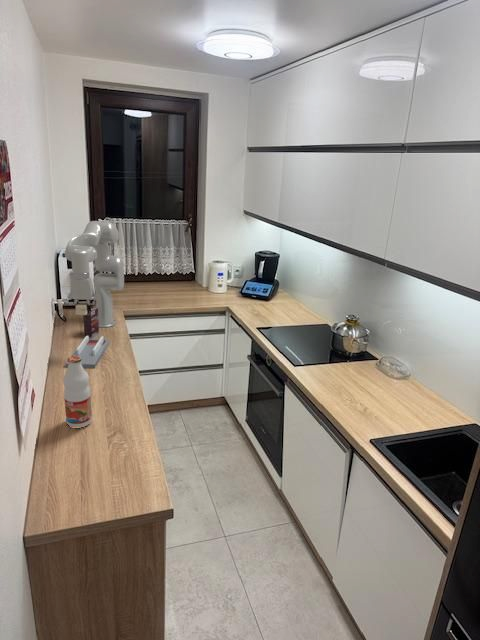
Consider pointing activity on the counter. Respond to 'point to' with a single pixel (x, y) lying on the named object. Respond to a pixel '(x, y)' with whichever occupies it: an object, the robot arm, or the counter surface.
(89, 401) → the fruit juice
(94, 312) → the supplement box
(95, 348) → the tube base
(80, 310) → the maple block
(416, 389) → the counter surface
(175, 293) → the counter surface
